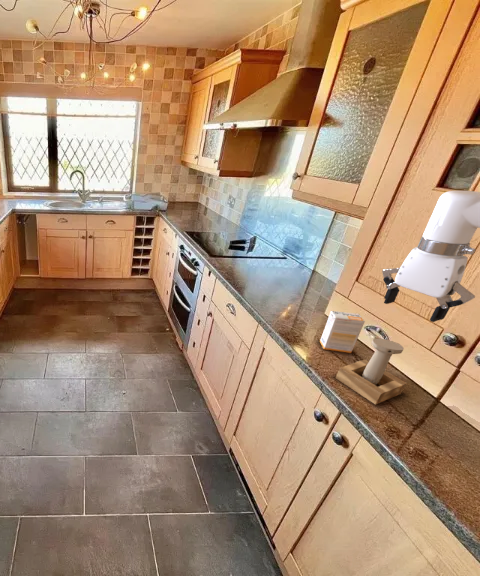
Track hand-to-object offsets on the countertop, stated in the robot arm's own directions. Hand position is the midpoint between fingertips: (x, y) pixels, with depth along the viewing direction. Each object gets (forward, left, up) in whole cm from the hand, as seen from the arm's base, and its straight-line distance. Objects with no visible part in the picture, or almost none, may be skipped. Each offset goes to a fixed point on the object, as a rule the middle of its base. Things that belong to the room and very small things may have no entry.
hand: (410, 311), depth 78 cm
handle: (+1, -1, -26) cm, 26 cm away
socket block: (+1, -1, -26) cm, 26 cm away
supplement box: (-8, -17, -26) cm, 32 cm away
